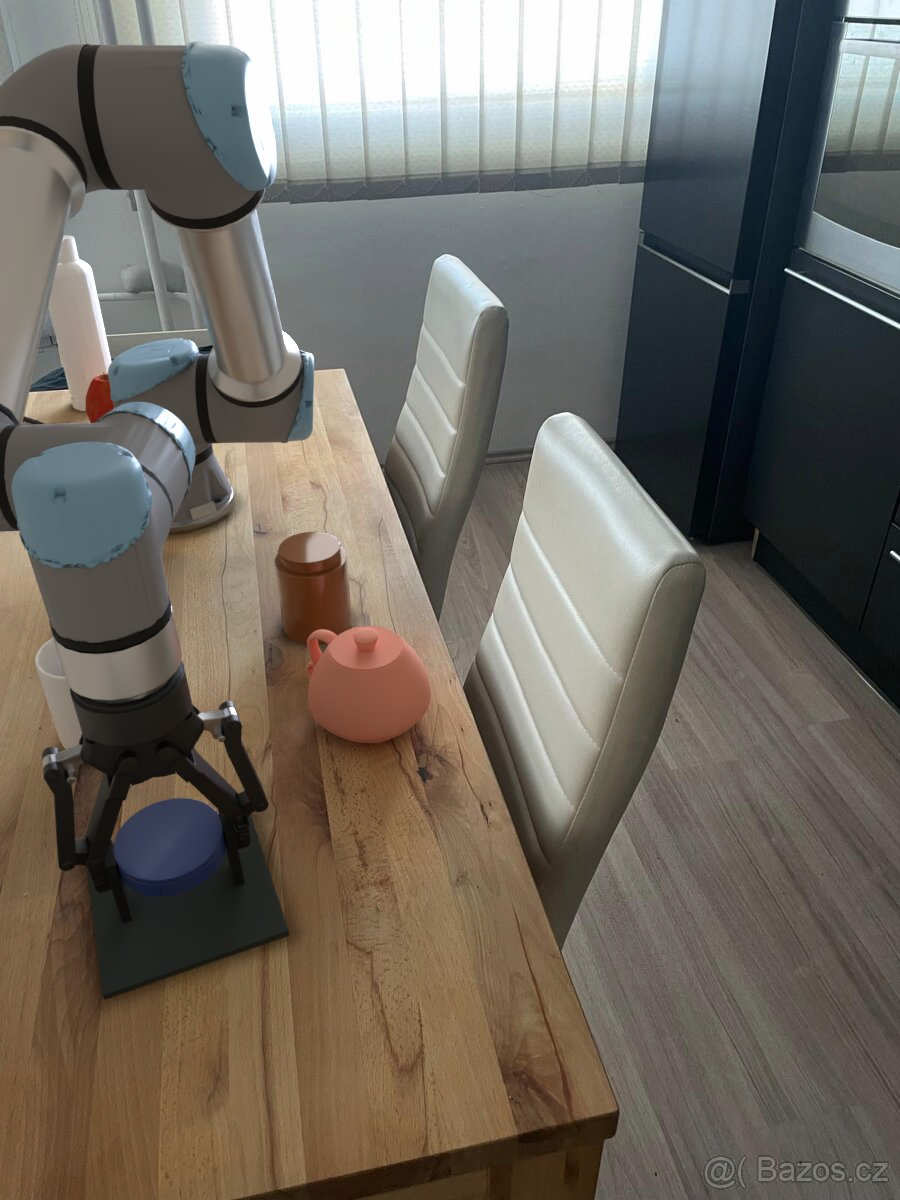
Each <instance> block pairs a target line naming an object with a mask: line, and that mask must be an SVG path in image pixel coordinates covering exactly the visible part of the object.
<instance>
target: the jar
mask: <svg viewBox="0 0 900 1200" xmlns="http://www.w3.org/2000/svg"><path fill="white" fill-rule="evenodd" d="M348 566H349V565H348V556H347V552H346V551H345V549H344V548H343V547H342V545H341V541H340V540H339V539H338V538H337V537H336V536H335V535H332V534H330V533H328V532H322V531H304V532H299V533H296V534H293V535H290V536H288V537H287V538H285V539H283V541H281V543H280V544H279V546H278V550H277V554H276V555H275V558H274V569H275V576H276V577H275V578H276V584H277V593H278V601H279V607H280V615H281V623H282V624H281V625H282V629H283V630H282V631H283V632H284V635H285V636H287V637H288V639H290V640H291V641H294V642H297V643H300V644H305V645H307V640H308V637H309V636H310V635H311V634H312V633H313V632H315V631H317V630H321V629H324V630H329V631H331V632H333V633H334V634H336V635H337V636H338V635H339V634H341V633H343V632H345V631H347V630H349V629H351V626H352V625H353V619H352V618H353V617H352V605H351V592H350V580H349V567H348ZM318 644H319V645H320V644H321V645H322V644H327V643H326V642H324V641H322V640H319V639H318Z"/></svg>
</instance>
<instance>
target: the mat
mask: <svg viewBox="0 0 900 1200" xmlns="http://www.w3.org/2000/svg"><path fill="white" fill-rule="evenodd" d="M248 821H249V833H250V838H251V843H250V846H248V847H245V848H242V849H239V850H238V851H239V856H240V862H241V867H242V872H243V877H244V882H245V884H242V885H239V886H235V882H234V879H233V875H232V872H231V868H230V865H229V861H228V856H227V851H226V852H225V855H224V858H223V860H222V862H221V864H220V866H219V867H218V869H217V870H216V871H215V872H214V873H213V874H212V875H211V876H210V877H209V878H208V879H207V880H206V881H204V882H203V883H201V884H200V885H198V886H197V887H195V888H193V889H191V890H189V891H186V892H184V893H180V894H177V895H172V896H164V897H153V896H147V895H143V894H140V893H137V892H135V891H133V890H132V889H130V888H129V887H128V886H127V885H125V886H126V889H127V892H128V897H129V903H130V909H131V915H132V920H131V921H128V922H125V923H122V920H121V917H120V914H119V911H118V908H117V904H116V901H115V898H114V895H113V892H112V890H109V891H105V892H102V893H99V892H98V891H96V890H95V887H94V884H93V881H92V878H91V875H90V872H89V869H88V868H87V867H86V873H87V882H88V889H89V899H90V907H91V914H92V922H93V932H94V938H95V946H96V947H95V948H96V955H97V962H98V971H99V976H100V977H99V979H100V986H101V995H102V998H103V1000H108V999H110V998H113V997H116V996H120V995H122V994H124V993H128V992H131V991H133V990H136V989H138V988H142V987H145V986H147V985H151V984H153V983H156V982H159V981H163V980H165V979H167V978H170V977H173V976H176V975H180V974H182V973H185V972H187V971H191V970H194V969H197V968H199V967H202V966H205V965H208V964H210V963H213V962H217V961H220V960H222V959H225V958H229V957H231V956H233V955H236V954H239V953H242V952H245V951H248V950H251V949H254V948H257V947H259V946H262V945H266V944H268V943H271V942H274V941H277V940H280V939H283V938H286V937H288V936H290V931H289V928H288V924H287V922H286V919H285V915H284V912H283V910H282V906H281V904H280V900H279V897H278V894H277V891H276V889H275V885H274V881H273V879H272V876H271V873H270V870H269V867H268V864H267V861H266V859H265V858H266V857H265V855H264V852H263V848H262V845H261V842H260V839H259V837H258V834H257V830H256V827H255V824H254V821H253V819H252V814H250V815H249V817H248Z"/></svg>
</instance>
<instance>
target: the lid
mask: <svg viewBox="0 0 900 1200" xmlns="http://www.w3.org/2000/svg"><path fill="white" fill-rule="evenodd" d="M113 852H114V858H115V862H116V865H117V868H118V872H119V875H120V877H121V879H122V881H123V882H124V883H125V885H127V886H128V887H129V888H130V889H132V890H133V891H135V892H137V893H140V894H143V895H147V896H153V897H164V896H172V895H177V894H180V893H184V892H186V891H189V890H191V889H193V888H195V887H197V886H198V885H200V884H201V883H203V882H204V881H206V880H207V879H208V878H209V877H210V876H211V875H212V874H213V873H214V872H215V871H216V870H217V869H218V867H219V866H220V864H221V862H222V860H223V858H224V855H225V852H226V840H225V835H224V830H223V825H222V822H221V818H220V816H219V812H218V811H217V810H216V809H215V808H213V807H212V806H211V805H209V804H208V803H205V802H204V801H202V800H199V799H194V798H186V797H176V798H175V797H174V798H168V799H164V800H163V799H162V800H160V801H156V802H154V803H151V804H149V805H146V806H145V807H143V808H141V809H139V810H138V811H136V812H135V813H134V814H132V815H131V816H130V817H129V818H128V819H126V821H125V822H124V823H123V824H122V826H121V827H120V828H119V830H118V831H117V833H116V835H115V838H114V841H113Z"/></svg>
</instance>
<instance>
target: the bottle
mask: <svg viewBox="0 0 900 1200" xmlns="http://www.w3.org/2000/svg"><path fill="white" fill-rule="evenodd" d="M76 243H77V242H76V239H75V236H73V235H67V234H66V235H65V234H64V236H63V240H62V245H61V249H60V254H59V259H58V263H57V268H56V272H55V277H54V281H53V286H52V291H51V295H50V300H49V304H48V310H49V314H50V319H51V323H52V326H53V330H54V335H55V339H56V343H57V348H58V351H59V355H60V360H61V363H62V367H63V371H64V376H65V380H66V383H67V388H68V392H69V395H70V400H71V404H72V408H74V409H75V410H77V411H80V412H86V410H85V408H86V394H87V391H88V388H89V385H90V383H91V381H92V380H93V379H94V378H95V377H97V376H100V375H104V374H108V369H109V366H110V364H111V362H112V361H113V360H112V357H111V353H110V352H111V351H110V348H109V343H108V339H107V333H106V328H105V325H104V324H105V323H104V320H103V316H102V315H103V314H102V310H101V306H100V305H101V304H100V300H99V297H98V292H97V287H96V283H95V277H94V274H93V269H92V267H91V265H90V264H89V263H87V262H86V261H84V260H82V259H80V258H79V253H78V249H77V244H76ZM103 372H104V374H103Z"/></svg>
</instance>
